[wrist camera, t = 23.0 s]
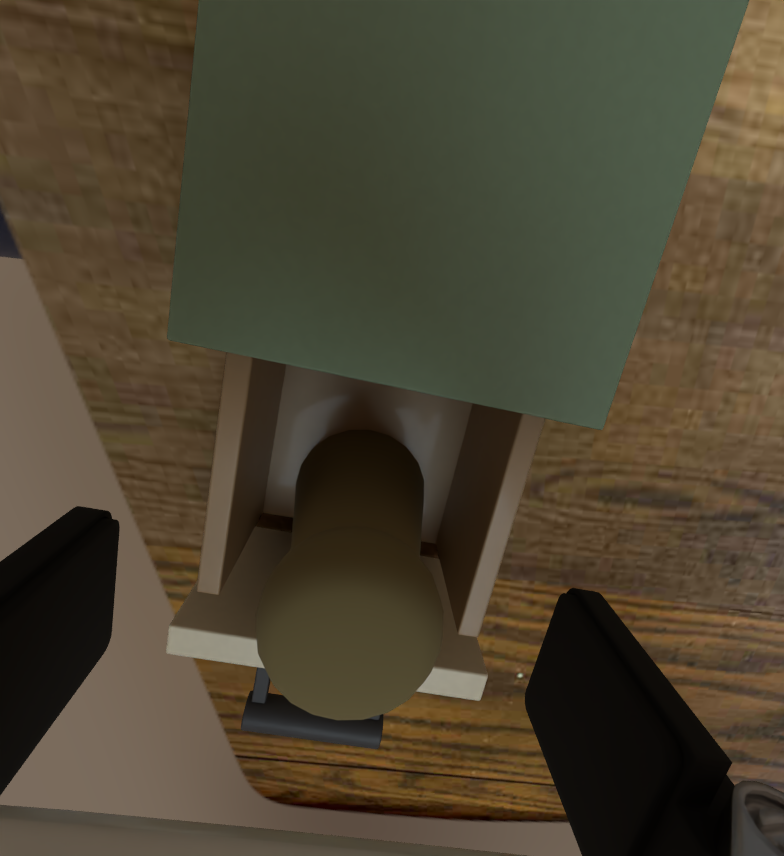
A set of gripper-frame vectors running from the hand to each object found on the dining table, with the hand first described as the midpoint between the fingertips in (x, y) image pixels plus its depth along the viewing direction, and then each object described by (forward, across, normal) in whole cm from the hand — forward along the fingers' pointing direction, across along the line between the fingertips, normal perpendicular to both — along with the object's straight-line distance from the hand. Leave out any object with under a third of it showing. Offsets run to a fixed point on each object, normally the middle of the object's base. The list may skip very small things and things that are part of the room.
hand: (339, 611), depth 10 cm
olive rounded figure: (+12, -1, +2) cm, 13 cm away
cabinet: (+14, -1, -11) cm, 18 cm away
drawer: (+13, -1, +3) cm, 14 cm away
